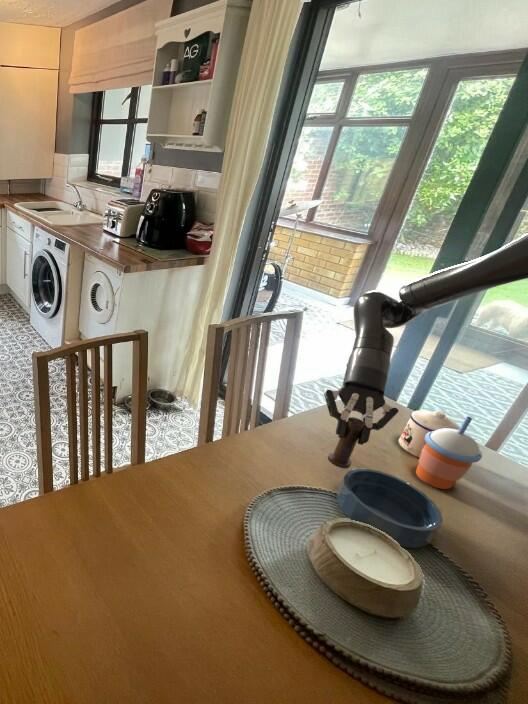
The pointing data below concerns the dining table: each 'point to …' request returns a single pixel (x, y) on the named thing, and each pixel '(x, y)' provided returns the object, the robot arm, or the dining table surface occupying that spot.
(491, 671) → the dining table surface
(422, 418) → the teacup with lid
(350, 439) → the brown wooden cylinder
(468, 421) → the cup with straw
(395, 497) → the bowl
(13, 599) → the dining table surface
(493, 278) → the robot arm
